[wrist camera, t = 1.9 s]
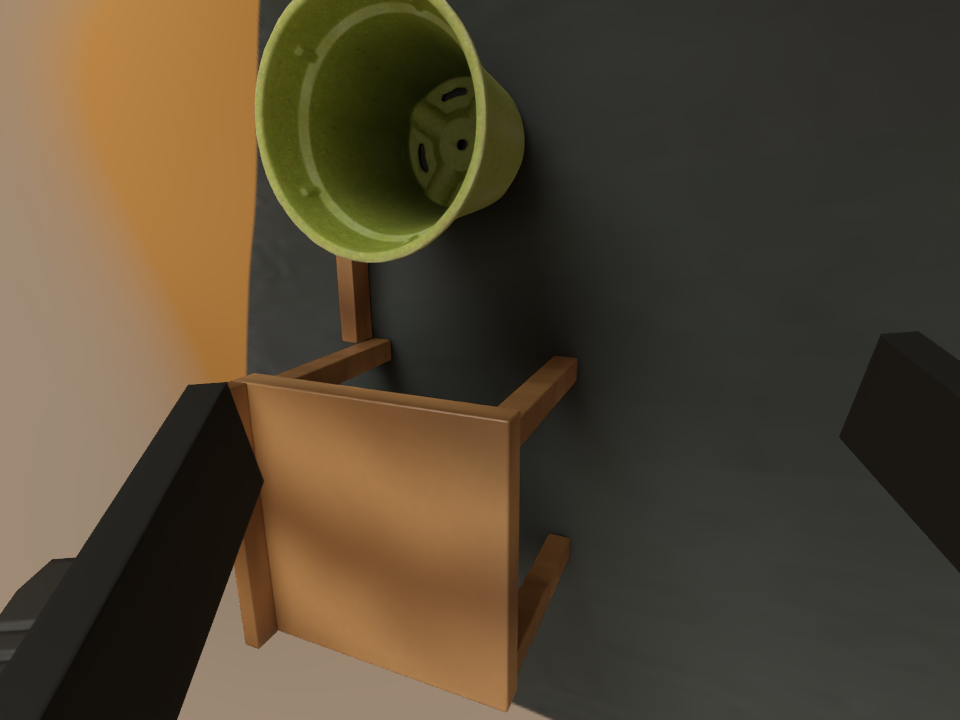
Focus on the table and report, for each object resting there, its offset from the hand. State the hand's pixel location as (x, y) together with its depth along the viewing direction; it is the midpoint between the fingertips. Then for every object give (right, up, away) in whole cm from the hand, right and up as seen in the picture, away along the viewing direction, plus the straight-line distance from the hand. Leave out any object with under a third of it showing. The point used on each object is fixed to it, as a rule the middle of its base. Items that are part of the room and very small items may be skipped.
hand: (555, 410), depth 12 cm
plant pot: (-2, +11, +15) cm, 19 cm away
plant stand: (-2, +5, +17) cm, 18 cm away
